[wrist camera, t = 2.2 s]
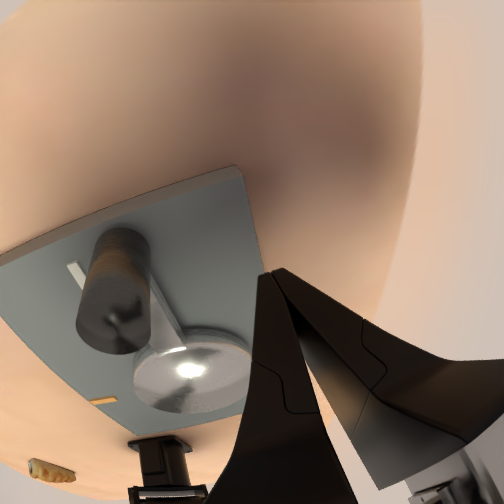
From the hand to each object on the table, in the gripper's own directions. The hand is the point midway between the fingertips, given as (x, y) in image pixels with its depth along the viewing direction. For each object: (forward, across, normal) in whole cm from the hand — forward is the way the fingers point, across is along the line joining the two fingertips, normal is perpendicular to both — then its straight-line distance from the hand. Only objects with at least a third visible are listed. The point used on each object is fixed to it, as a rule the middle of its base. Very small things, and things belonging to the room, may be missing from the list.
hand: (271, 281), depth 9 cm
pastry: (+7, +44, +36) cm, 57 cm away
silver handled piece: (+4, +5, +6) cm, 9 cm away
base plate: (+6, +7, +9) cm, 14 cm away
